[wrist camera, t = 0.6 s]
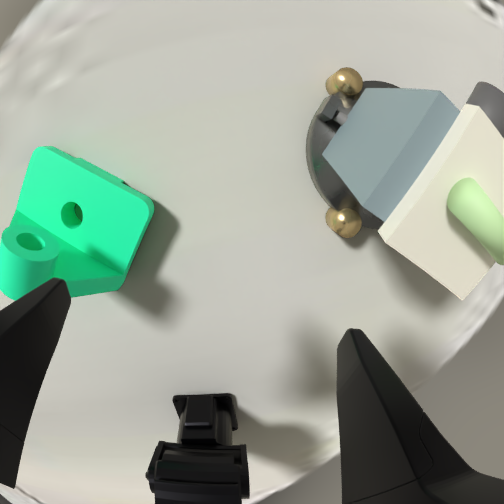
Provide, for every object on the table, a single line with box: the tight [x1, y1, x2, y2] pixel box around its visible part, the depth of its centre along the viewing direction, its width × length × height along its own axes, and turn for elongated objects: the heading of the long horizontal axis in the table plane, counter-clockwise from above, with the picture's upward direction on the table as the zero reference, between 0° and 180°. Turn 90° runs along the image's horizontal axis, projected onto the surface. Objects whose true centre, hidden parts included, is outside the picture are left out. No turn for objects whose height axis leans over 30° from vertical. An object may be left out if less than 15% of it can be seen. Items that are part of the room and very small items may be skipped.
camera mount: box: [0, 146, 154, 301], centre depth 17 cm, size 12×8×10 cm, turn 60°
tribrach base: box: [306, 67, 399, 238], centre depth 20 cm, size 13×13×4 cm
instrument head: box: [322, 82, 504, 301], centre depth 13 cm, size 10×10×13 cm
